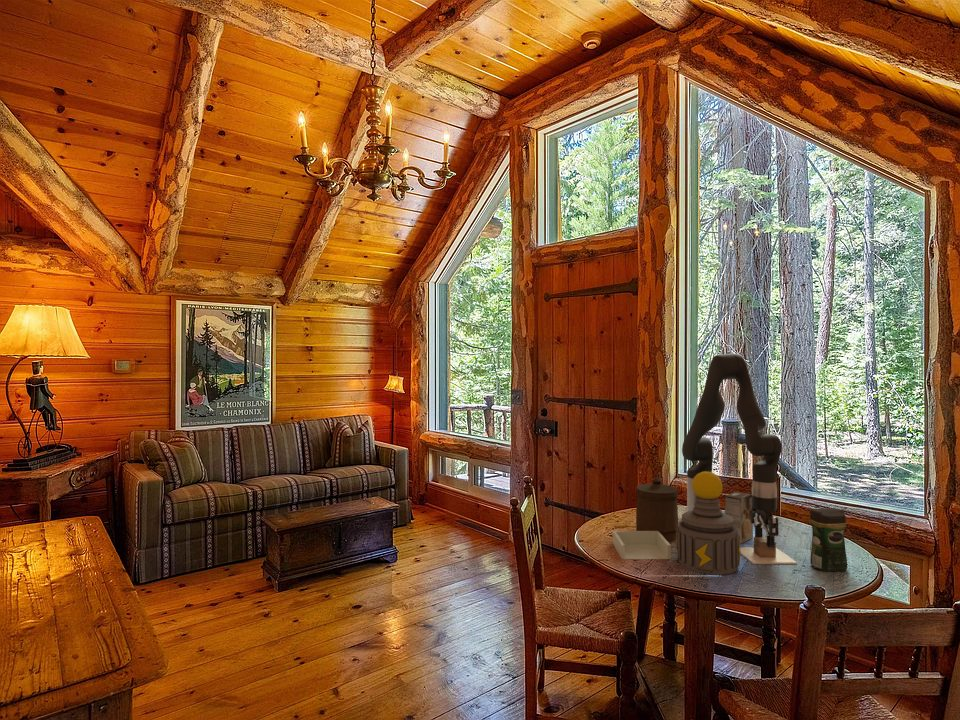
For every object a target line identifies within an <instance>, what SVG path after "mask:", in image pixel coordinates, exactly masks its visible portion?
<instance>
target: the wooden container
mask: <svg viewBox="0 0 960 720" xmlns="http://www.w3.org/2000/svg"><path fill="white" fill-rule="evenodd" d="M651 479H652V480H651V481H652V483H644V484H643V483H642V484H639V485H637V486H636V500H635V501H636V508H635V515H636V516H635V524H636V525H635V527H636V529H635V531H659V532H660V534H661V535H662V536H663V537H664V538H665V539H666V540H667V542H668V543H671V542H675V541H677V534H676V531H677V528H678V527H679V509H678V504H679V503H678V498H679V497H678V495H679V493H678V488H677V487H675V486H672V485H667V484H662V482H663V480H662V479H661V478H660V477H656V476H655V477H653V478H651Z"/></svg>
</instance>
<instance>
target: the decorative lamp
mask: <svg viewBox="0 0 960 720" xmlns="http://www.w3.org/2000/svg"><path fill="white" fill-rule="evenodd" d="M692 488H693V491H694V493H695V494H696V495H697V497H696V500H697V501H696V502H695V504H694V506H695V507H694V508H693V510H692V511H688V512H687V511H686V512H684V513H682V514H681V521H680V522H678V528H677V531H676V534H677V540H676V543H675V547H676V550H677V551H676V553H677V558H678V561H679V563H680V564H681V566H683V567H685V568H686V569H688V570H691V571H694V572H698V573H702V574H707V575H723V576H725V575H731V574H734V573H736V571H737V570H738V569H739V567H740V564H741V551H740V548H741V543H740V536H739V534H738V531H737V528H736V527H735V526H734V519H733V518H732V517H730V516H729V515H727V514H725V512H723V511H722V509H721V508H722V507H721V504H720V501H719V497H720V496H721V495H722V492H723V483H722V480H721V478H720V477H719V476H718V475H717V474H716V473H714V472H713V471H712V472H701V473H699V474H697V475H696V476H695V477H694V479H693V482H692Z"/></svg>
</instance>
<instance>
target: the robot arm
mask: <svg viewBox="0 0 960 720" xmlns="http://www.w3.org/2000/svg"><path fill="white" fill-rule="evenodd" d="M707 372H708V373H707V375H706V380H705V385H704V389H703V391H702V393H701V394H702V395H701V397H700V399H699V402H698V405H697V408H696V411H695V414H694V417H693V421H692V422H691V423H692V424H691V425H690V428H689V430H688V432H687V433H686V435H685V438H684V440H683V442H682V448H681V453H682V456H683V458H684V459H685V460H687V461H692V462H695V461H696V462H697V464H695V465H694V466H692V467H689V468H688V469H687V470H686V496H687V499H686V500H687V501H686V503H687V504H686V508H687V509H686V512H688V511H692V510H693V508H694V507H695V506H694V504H695V502H696V501H697V500H696V497H697V495H696V494H695V493H694V491H693V488H692V482H693V479H694V477H695V476H696V475H697V474H699V473H701V472H712V473H713V459H714V458H713V457H714V447H713V443H712V441H711V439H710V438H708V437H704V436H705V435H706V434H707V433H709V432H710V431H711V430H712V429H714V428H715V427H716V426H717V425H718V424H719V423H720V422H721V419H722V417H723V414H724V411H725V407H726V406H725V405H726V404H725V401H724V398H723V396H722V394H721V392H720V387H721V385H722V382H723V381H724V380H735V381H736V382H737V385H738V388H739V390H738V391H739V393H738V397H737V400H736V401H737V402H736V411H737V414H738V416H739V417H738V418H739V419H740V421H741V423H742V426H743V431H744V436H745V437H744V438H745V446H746V450H747V451H748V452H749V453H750V454H751V455H752V456H755V457H762V459H761V460H760V461H758V462H755V463H754V464H752V470H751V471H752V473H751V474H752V482H751V494H752V512H751V523H752V524H753V527H754V537H763V530H765V533H766V537H767V547H769V548H774V546H775V542H776V541H775V537H779V517H777V516H774V515H773V512H774V511H776V510H777V509H778V486H777V467H778V465H779V461H780V458H781V454H782V449H783V446H782V445H783V444H782V441H781V439H780V438H779V436H777V435H776V434H773V433H764V434H763V433H762V434H760V432H759V431H761V430H763V429H765V427H766V425H767V422H766V420H765V416H764V415H763V413H762V409H761V408H760V406H759V402H758V401H757V399H756V398H757V397H756V395H755V391H754V387H753V383H752V380H751V376H750V372H749V368H748V365H747V362H746V360H745V358H744V357H743V355H741V354H739V353H723V354H722V353H721V354H716V355H714V356H713V358H711V361H710V363H709V367H708V370H707Z"/></svg>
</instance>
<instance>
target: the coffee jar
mask: <svg viewBox="0 0 960 720" xmlns="http://www.w3.org/2000/svg"><path fill="white" fill-rule="evenodd" d="M809 512H810V513H809V523H810V525H811V529H812V531H811V532H812V535H811V549H810V558H809V560H810V561H809V562H810V565H811V566H812V567H813V568H815V569H816V570H820V571H823V572H842V571H846V570H847V569H848V559H847V552H846V551H847V550H846V542H845V541H846V540H845V530H846V527H847V519H846V518H847V517H846V513H845V512H844V510H841V509H838V508H836V507H832V508H830V507H829V508H827V507H826V508H825V507H824V508H812V509H811V510H810V511H809Z"/></svg>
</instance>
